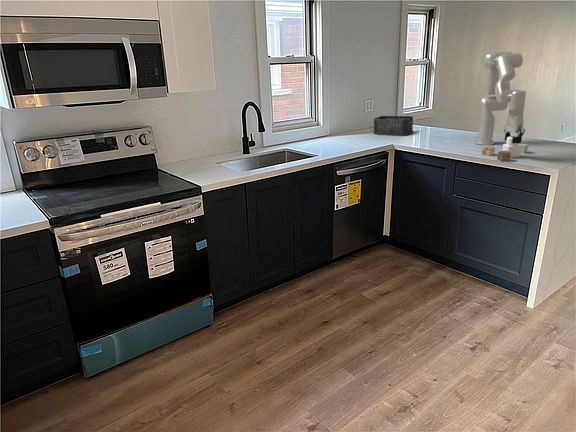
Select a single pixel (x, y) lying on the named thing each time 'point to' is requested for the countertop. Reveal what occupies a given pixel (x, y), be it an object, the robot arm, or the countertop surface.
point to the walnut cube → (503, 156)
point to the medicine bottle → (512, 147)
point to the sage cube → (523, 148)
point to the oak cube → (488, 150)
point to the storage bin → (386, 129)
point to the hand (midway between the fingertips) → (512, 141)
